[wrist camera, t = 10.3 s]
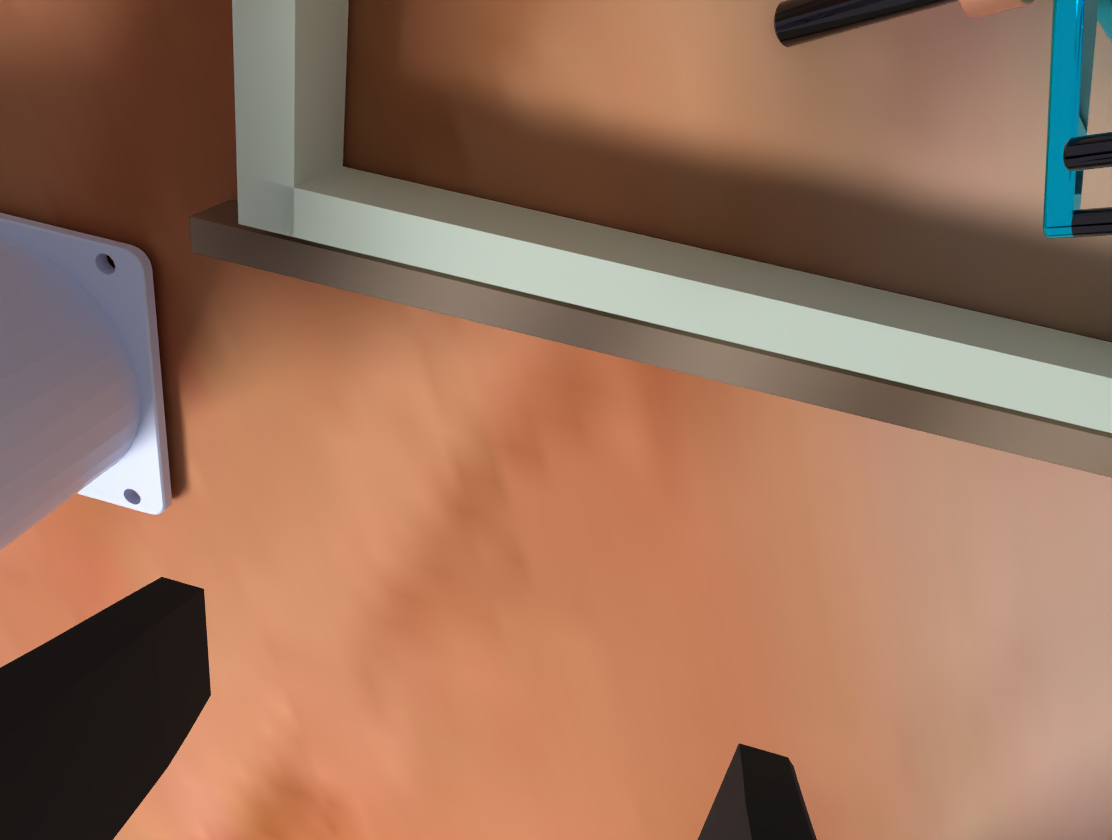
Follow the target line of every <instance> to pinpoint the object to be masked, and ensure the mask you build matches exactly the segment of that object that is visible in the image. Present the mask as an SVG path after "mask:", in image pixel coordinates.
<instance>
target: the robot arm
mask: <svg viewBox="0 0 1112 840" xmlns="http://www.w3.org/2000/svg"><path fill="white" fill-rule="evenodd" d="M107 255H108V256H110V258H111V259H112V260H113V261H114V264H115V268H113V267H112V266H111V265H110V264H109V263H108V260H107V257H106V256H107ZM135 491H136V492H137V493H138V494H139V495H138V494H137V493H136V492H135ZM76 493H77V494H81V495H84V496H88V497H92V498H95V499H99V500H102V501H106V502H109V503H113V504H117V505H120V506H124V507H127V508H131V509H134V510H138V511H141V512H145V513H149V514H154V515H158V514H161V513H162V512H164V511H165V510H166V509H167V508H168V507H169V506H170V505H171V501H172V494H171V483H170V471H169V459H168V448H167V436H166V424H165V413H164V401H163V389H162V377H161V366H160V354H159V342H158V331H157V319H156V307H155V296H154V284H153V272H152V266H151V263H150V260H149V259H148V257H147V256H146V254H145V253H144V252H143V251H142V250H140V249H139V248H137V247H135V246H133V245H130V244H126V243H122V242H118V241H114V240H110V239H106V238H101V237H97V236H93V235H89V234H85V233H81V232H77V231H73V230H69V229H65V228H61V227H57V226H53V225H49V224H45V223H40V222H36V221H32V220H28V219H24V218H20V217H16V216H12V215H8V214H4V213H0V551H1V550H2V549H3V548H5V547H6V546H7V545H9V544H10V543H11V542H13V541H14V540H15V539H16V538H18V537H19V536H20V535H22V534H23V533H24V532H26V531H27V530H28V529H30V528H31V527H32V526H34V525H35V524H36V523H38V522H39V521H40V520H42V519H43V518H44V517H46V516H47V515H48V514H50V513H51V512H52V511H54V510H55V509H56V508H58V507H59V506H60V505H62V504H63V503H64V502H66V501H67V500H68V499H70V498H71V497H72V496H74V495H75V494H76ZM210 695H211V691H210V675H209V660H208V645H207V630H206V614H205V599H204V589H202V588H198V587H195V586H191V585H188V584H185V583H181V582H178V581H174V580H171V579H167V578H164V577H161V578H159V579H157V580H156V581H154V582H152V583H150V584H148V585H147V586H145V587H143V588H141V589H139V590H138V591H136V592H134V593H132V594H131V595H129V596H127V597H125V598H123V599H122V600H120V601H118V602H116V603H115V604H113V605H111V606H109V607H108V608H106V609H104V610H102V611H101V612H99V613H97V614H95V615H94V616H92V617H90V618H88V619H87V620H85V621H83V622H81V623H80V624H78V625H76V626H74V627H73V628H71V629H69V630H67V631H66V632H64V633H62V634H60V635H59V636H57V637H55V638H53V639H51V640H50V641H48V642H46V643H44V644H43V645H41V646H39V647H37V648H35V649H34V650H32V651H30V652H28V653H26V654H24V655H23V656H21V657H19V658H17V659H15V660H14V661H12V662H10V663H8V664H6V665H5V666H3V667H1V668H0V840H113V839H114V837H115V836H116V835H117V833H118V832H119V831H120V830H121V828H122V827H123V826H124V824H125V823H126V822H127V820H128V819H129V818H130V816H131V815H132V814H133V812H134V811H135V810H136V809H137V807H138V806H139V805H140V803H141V802H142V801H143V799H144V798H145V797H146V795H147V794H148V793H149V791H150V790H151V789H152V787H153V786H154V785H155V783H156V782H157V781H158V779H159V778H160V777H161V775H162V774H163V773H164V771H165V770H166V769H167V767H168V766H169V764H170V763H171V761H172V759H173V758H174V756H175V754H176V753H177V751H178V750H179V748H180V746H181V745H182V743H183V742H184V740H185V738H186V737H187V735H188V733H189V732H190V730H191V728H192V726H193V725H194V723H195V721H196V720H197V718H198V716H199V714H200V713H201V711H202V709H203V708H204V706H205V704H206V702H207V701H208V699H209V697H210ZM698 840H817V839H816V836H815V833H814V830H813V827H812V824H811V821H810V818H809V815H808V812H807V809H806V806H805V802H804V799H803V796H802V793H801V790H800V786H799V783H798V780H797V777H796V773H795V770H794V766H793V765H792V763H791V762H790V760H789V758H788V757H784V756H781V755H777V754H774V753H770V752H767V751H764V750H760V749H757V748H753V747H750V746H746V745H743V744H739V745H738V747H737V749H736V752H735V754H734V756H733V759H732V761H731V763H730V766H729V768H728V770H727V773H726V775H725V777H724V780H723V782H722V784H721V787H720V789H719V791H718V794H717V796H716V798H715V801H714V803H713V805H712V808H711V810H710V812H709V815H708V817H707V819H706V822H705V824H704V826H703V829H702V831H701V833H700V836H699V838H698Z"/></svg>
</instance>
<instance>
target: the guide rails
mask: <svg viewBox="0 0 1112 840" xmlns="http://www.w3.org/2000/svg"><path fill="white" fill-rule="evenodd" d="M190 234H191V251H192V253H196V254H201V255H205V256H209V257H213V258H217V259H221V260H225V261H229V262H233V263H237V264H241V265H245V266H250V267H254V268H258V269H262V270H266V271H270V272H274V273H278V274H282V275H286V276H290V277H294V278H299V279H303V280H307V281H311V282H315V283H319V284H323V285H327V286H331V287H335V288H339V289H343V290H348V291H352V292H356V293H360V294H364V295H368V296H372V297H376V298H380V299H384V300H388V301H392V302H397V303H401V304H405V305H409V306H413V307H417V308H421V309H425V310H429V311H433V312H437V313H441V314H445V315H450V316H454V317H458V318H462V319H466V320H470V321H474V322H478V323H482V324H486V325H490V326H494V327H499V328H503V329H507V330H511V331H515V332H519V333H523V334H527V335H531V336H535V337H539V338H543V339H548V340H552V341H556V342H560V343H564V344H568V345H572V346H576V347H580V348H584V349H588V350H592V351H597V352H601V353H605V354H609V355H613V356H617V357H621V358H625V359H629V360H633V361H637V362H641V363H646V364H650V365H654V366H658V367H662V368H666V369H670V370H674V371H678V372H682V373H686V374H690V375H695V376H699V377H703V378H707V379H711V380H715V381H719V382H723V383H727V384H731V385H735V386H739V387H744V388H748V389H752V390H756V391H760V392H764V393H768V394H772V395H776V396H780V397H784V398H788V399H792V400H797V401H801V402H805V403H809V404H813V405H817V406H821V407H825V408H829V409H833V410H837V411H841V412H846V413H850V414H854V415H858V416H862V417H866V418H870V419H874V420H878V421H882V422H886V423H890V424H895V425H899V426H903V427H907V428H911V429H915V430H919V431H923V432H927V433H931V434H935V435H939V436H944V437H948V438H952V439H956V440H960V441H964V442H968V443H972V444H976V445H980V446H984V447H988V448H993V449H997V450H1001V451H1005V452H1009V453H1013V454H1017V455H1021V456H1025V457H1029V458H1033V459H1037V460H1042V461H1046V462H1050V463H1054V464H1058V465H1062V466H1066V467H1070V468H1074V469H1078V470H1082V471H1086V472H1090V473H1095V474H1099V475H1103V476H1107V477H1111V478H1112V433H1109V432H1105V431H1100V430H1096V429H1092V428H1088V427H1084V426H1080V425H1075V424H1071V423H1067V422H1063V421H1059V420H1055V419H1050V418H1046V417H1042V416H1038V415H1034V414H1030V413H1025V412H1021V411H1017V410H1013V409H1009V408H1004V407H1000V406H996V405H992V404H988V403H984V402H979V401H975V400H971V399H967V398H963V397H959V396H954V395H950V394H946V393H942V392H938V391H934V390H929V389H925V388H921V387H917V386H913V385H909V384H904V383H900V382H896V381H892V380H888V379H884V378H879V377H875V376H871V375H867V374H863V373H859V372H854V371H850V370H846V369H842V368H838V367H834V366H829V365H825V364H821V363H817V362H813V361H808V360H804V359H800V358H796V357H792V356H788V355H783V354H779V353H775V352H771V351H767V350H763V349H758V348H754V347H750V346H746V345H742V344H738V343H733V342H729V341H725V340H721V339H717V338H713V337H708V336H704V335H700V334H696V333H692V332H688V331H683V330H679V329H675V328H671V327H667V326H663V325H658V324H654V323H650V322H646V321H642V320H637V319H633V318H629V317H625V316H621V315H617V314H612V313H608V312H604V311H600V310H596V309H592V308H587V307H583V306H579V305H575V304H571V303H567V302H562V301H558V300H554V299H550V298H546V297H542V296H537V295H533V294H529V293H525V292H521V291H517V290H512V289H508V288H504V287H500V286H496V285H492V284H487V283H483V282H479V281H475V280H471V279H466V278H462V277H458V276H454V275H450V274H446V273H441V272H437V271H433V270H429V269H425V268H421V267H416V266H412V265H408V264H404V263H400V262H396V261H391V260H387V259H383V258H379V257H375V256H371V255H366V254H362V253H358V252H354V251H350V250H346V249H341V248H337V247H333V246H329V245H325V244H321V243H316V242H312V241H308V240H304V239H300V238H296V237H291V236H287V235H283V234H279V233H275V232H270V231H266V230H262V229H258V228H254V227H250V226H245V225H241V224H238V202H237V201H233V200H229V201H227V202H225V203H222V204H220V205H217V206H215V207H212V208H210V209H207V210H205V211H202V212H200V213H198V214H195V215H193V216H190Z"/></svg>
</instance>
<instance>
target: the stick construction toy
mask: <svg viewBox="0 0 1112 840" xmlns="http://www.w3.org/2000/svg"><path fill="white" fill-rule="evenodd" d="M956 1H959V3H960V5H961V7H962V9H963V11H964V12H965V13H966V14H967V15H968V16H969V17H971V18H979V17H983V16H987V15H991V14H995V13H999V12H1003V11H1006V10H1010V9H1014V8H1018V7H1022V6H1026V5H1029V4H1031V3H1032V2H1033V1H1034V0H785V1H783V2H781V3H780V4H779V5H778V7H777V9H776V12H775V16H774V28H775V33H776V35H777V38H778V39H779V41H780V42H781V43H782V44H783V45H784V46H786V47H792V46H796V45H799V44H803V43H807V42H810V41H814V40H817V39H821V38H825V37H828V36H832V35H836V34H839V33H843V32H847V31H850V30H854V29H858V28H861V27H865V26H869V25H872V24H876V23H880V22H883V21H887V20H890V19H894V18H898V17H901V16H905V15H909V14H912V13H916V12H920V11H923V10H927V9H931V8H934V7H938V6H942V5H945V4H949V3H952V2H956ZM1097 21H1098V22H1099V24H1100V26H1101V27H1102V29H1103V30H1104V32H1105V33H1106V35H1107V36H1108V38H1109V39H1110V41H1111V42H1112V0H1053V20H1052V42H1051V64H1050V85H1049V107H1048V129H1047V150H1046V172H1045V194H1044V215H1043V232H1044V235H1045V236H1046V237H1047V238H1069V237H1087V236H1105V235H1112V207H1105V208H1092V209H1080V205H1081V194H1082V182H1083V171H1084V170H1086V169H1095V168H1104V167H1112V132H1108V133H1101V134H1094V135H1087V126H1088V114H1089V103H1090V92H1091V80H1092V69H1093V58H1094V46H1095V35H1096V24H1097Z"/></svg>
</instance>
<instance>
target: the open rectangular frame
mask: <svg viewBox="0 0 1112 840" xmlns="http://www.w3.org/2000/svg"><path fill="white" fill-rule="evenodd" d="M348 7H349V0H232V18H233V53H234V88H235V122H236V157H237V192H238V224H241V225H245V226H250V227H254V228H258V229H262V230H266V231H270V232H275V233H279V234H283V235H287V236H291V237H296V238H300V239H304V240H308V241H312V242H316V243H321V244H325V245H329V246H333V247H337V248H341V249H346V250H350V251H354V252H358V253H362V254H366V255H371V256H375V257H379V258H383V259H387V260H391V261H396V262H400V263H404V264H408V265H412V266H416V267H421V268H425V269H429V270H433V271H437V272H441V273H446V274H450V275H454V276H458V277H462V278H466V279H471V280H475V281H479V282H483V283H487V284H492V285H496V286H500V287H504V288H508V289H512V290H517V291H521V292H525V293H529V294H533V295H537V296H542V297H546V298H550V299H554V300H558V301H562V302H567V303H571V304H575V305H579V306H583V307H587V308H592V309H596V310H600V311H604V312H608V313H612V314H617V315H621V316H625V317H629V318H633V319H637V320H642V321H646V322H650V323H654V324H658V325H663V326H667V327H671V328H675V329H679V330H683V331H688V332H692V333H696V334H700V335H704V336H708V337H713V338H717V339H721V340H725V341H729V342H733V343H738V344H742V345H746V346H750V347H754V348H758V349H763V350H767V351H771V352H775V353H779V354H783V355H788V356H792V357H796V358H800V359H804V360H808V361H813V362H817V363H821V364H825V365H829V366H834V367H838V368H842V369H846V370H850V371H854V372H859V373H863V374H867V375H871V376H875V377H879V378H884V379H888V380H892V381H896V382H900V383H904V384H909V385H913V386H917V387H921V388H925V389H929V390H934V391H938V392H942V393H946V394H950V395H954V396H959V397H963V398H967V399H971V400H975V401H979V402H984V403H988V404H992V405H996V406H1000V407H1004V408H1009V409H1013V410H1017V411H1021V412H1025V413H1030V414H1034V415H1038V416H1042V417H1046V418H1050V419H1055V420H1059V421H1063V422H1067V423H1071V424H1075V425H1080V426H1084V427H1088V428H1092V429H1096V430H1100V431H1105V432H1109V433H1112V342H1107V341H1103V340H1099V339H1094V338H1090V337H1085V336H1081V335H1077V334H1072V333H1068V332H1064V331H1059V330H1055V329H1051V328H1046V327H1042V326H1037V325H1033V324H1029V323H1024V322H1020V321H1016V320H1011V319H1007V318H1003V317H998V316H994V315H989V314H985V313H981V312H976V311H972V310H968V309H963V308H959V307H955V306H950V305H946V304H941V303H937V302H933V301H928V300H924V299H920V298H915V297H911V296H907V295H902V294H898V293H893V292H889V291H885V290H880V289H876V288H872V287H867V286H863V285H859V284H854V283H850V282H845V281H841V280H837V279H832V278H828V277H824V276H819V275H815V274H811V273H806V272H802V271H797V270H793V269H789V268H784V267H780V266H776V265H771V264H767V263H763V262H758V261H754V260H749V259H745V258H741V257H736V256H732V255H728V254H723V253H719V252H715V251H710V250H706V249H701V248H697V247H693V246H688V245H684V244H680V243H675V242H671V241H667V240H662V239H658V238H654V237H649V236H645V235H640V234H636V233H632V232H627V231H623V230H619V229H614V228H610V227H606V226H601V225H597V224H592V223H588V222H584V221H579V220H575V219H571V218H566V217H562V216H558V215H553V214H549V213H544V212H540V211H536V210H531V209H527V208H523V207H518V206H514V205H510V204H505V203H501V202H496V201H492V200H488V199H483V198H479V197H475V196H470V195H466V194H462V193H457V192H453V191H448V190H444V189H440V188H435V187H431V186H427V185H422V184H418V183H414V182H409V181H405V180H400V179H396V178H392V177H387V176H383V175H379V174H374V173H370V172H366V171H361V170H357V169H352V168H348V167H344V166H343V146H344V118H345V91H346V63H347V35H348Z"/></svg>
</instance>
